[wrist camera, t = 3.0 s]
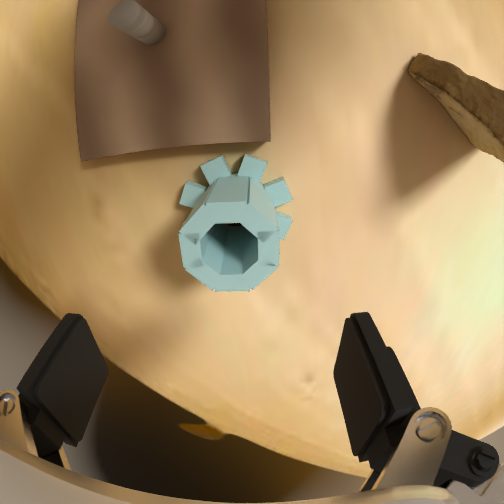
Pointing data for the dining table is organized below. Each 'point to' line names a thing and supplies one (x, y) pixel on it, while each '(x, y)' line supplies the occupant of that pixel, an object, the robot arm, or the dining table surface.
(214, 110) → the gear board
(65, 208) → the dining table surface
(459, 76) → the rock
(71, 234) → the dining table surface
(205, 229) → the loose cog
